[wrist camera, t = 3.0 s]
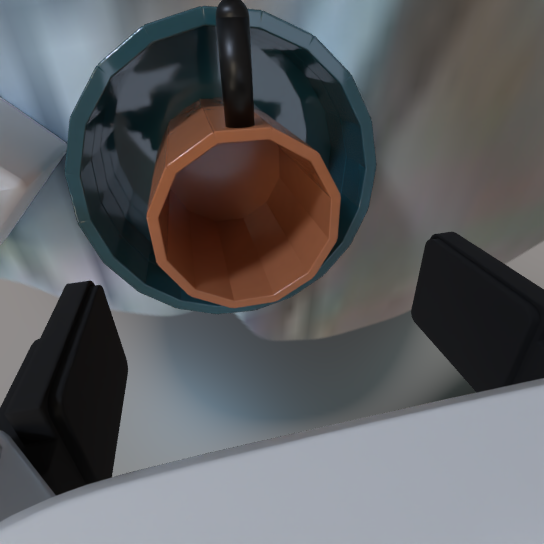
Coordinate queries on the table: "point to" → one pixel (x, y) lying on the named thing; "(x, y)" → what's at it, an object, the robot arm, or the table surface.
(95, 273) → the table surface
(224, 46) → the orange mug
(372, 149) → the dark teal bowl
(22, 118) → the medicine bottle
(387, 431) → the robot arm
